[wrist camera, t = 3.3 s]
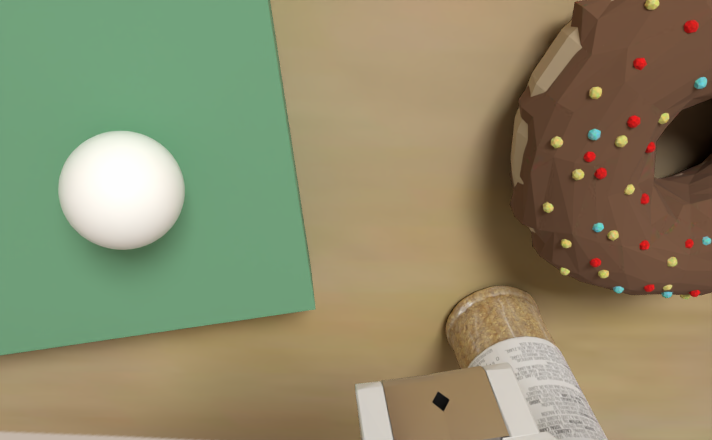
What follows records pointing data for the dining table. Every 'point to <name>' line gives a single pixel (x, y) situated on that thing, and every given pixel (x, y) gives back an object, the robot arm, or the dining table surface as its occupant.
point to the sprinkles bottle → (522, 358)
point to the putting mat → (173, 131)
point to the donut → (617, 148)
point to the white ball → (121, 190)
